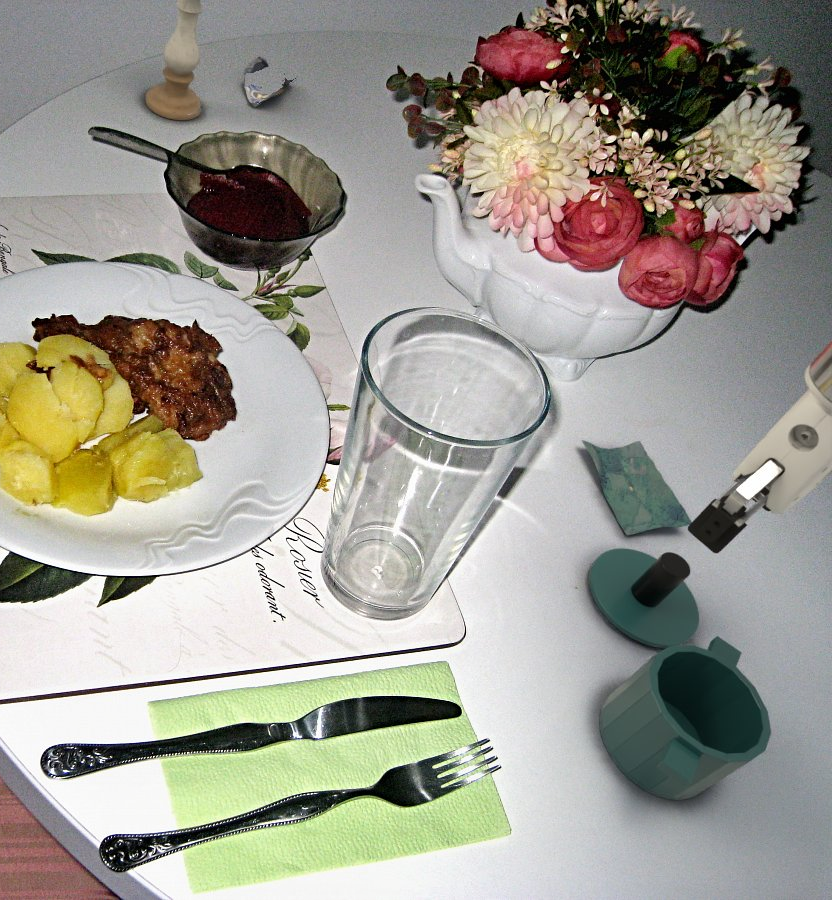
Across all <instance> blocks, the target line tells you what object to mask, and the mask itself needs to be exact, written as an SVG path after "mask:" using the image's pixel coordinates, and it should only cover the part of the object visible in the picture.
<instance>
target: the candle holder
mask: <svg viewBox="0 0 832 900" xmlns="http://www.w3.org/2000/svg"><path fill="white" fill-rule="evenodd" d="M175 6H176V8H177V9H178V16H177V21H176V26H175V29H174V31H173V33H172V35H171V37H169V39H168V41H167V42H166V44H165V46H164V48H163V53H162V54H163V55H162V57H163V61H164V63H165V65H166V66H165V67H164V68H163V70H162V75H163V77H164V80H165V82H159V83H157V84H156V85H155V86H153V87H151V88H150V89H148V90H147V91H146V94H145V104H146V106H147V107H148V109H149V110H150V111H152V113H155V114H156V115H159V116H160V117H163V118H166V119H169V120H175V121H189V120H193V119H195V118H197V117H199V116H200V114H201V113H202V110H203V107H202V108H201V110H200V111H198V112H197V113H194V112H195V111H197V110H198V109H199V108H200V101H199V99H200V97H199V96H198V95H197V94H196V92H195V91H194V90H193V88H190V87H189V86H190V85H191V83H192V82H193V81H194V80H195V74H194V71H195V70H196V68H197V67H198V66H199V64H200V60H201V53H200V47H199V44H198V39H197V25H198V19H199V15H201V14H202V13H203V12H204V8H203V5H202V2H201V0H178V1H177V2H176V4H175ZM197 96H198V97H197ZM191 113H194V114H191ZM188 114H191V115H188Z"/></svg>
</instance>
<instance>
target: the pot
mask: <svg viewBox="0 0 832 900" xmlns="http://www.w3.org/2000/svg"><path fill="white" fill-rule="evenodd" d="M741 655H742V651H740V650H739V649H738V648H736V647H734V645H731V644H730V643H728V642H727V641H725V640H724V639H722V638H721V637H720V636H719V635H717V636H715V637H714V638H712V640H710V642H709V644H708V646H707V649H706V648H703V647H700V646H697V645H694V644H682V645H671V646H669V647H667V648H663V649H662V650H660V651H659V652H657V653H656V654H654V655H653V656H652V657H651V658H650V659H649V660H648V661H646V663H645V664H643V665H642V666H640V668H639V669H637V670H636V671H635V672H634V673H633V674H632V675H631V676H629V677H628V678H627V679H626V680H625V681H624V682H623V683H621V684H620V685H619V686H618V687H617V688H615V689H614V690H613V691H612V692H611V693H610V694H609V696H608V697H607V698H606V700H605V701H604V702H603V704H602V707H601V709H600V714H599V730H600V735H601V739H602V741H603V745H604V747H605V749H606V751H607V753H608V755H609V756H610V758H611V760H612V761H613V762H614V764H615V765H616V767H617V768H618V769H619V770H620V772H622V773H623V774H624V776H626V777H627V778H628V779H629V780H630V781H631V782H632V783H634V785H636V786H637V787H639V788H641V789H642V790H643V791H646V792H648V793H649V794H651V795H653V796H656V797H659V798H663V799H667V800H676V801H677V800H678V801H681V800H687V799H690V798H693V797H696V796H697V795H699V794H700V793H702V792H704V791H705V790H707V789H708V788H710V787H711V786H714V785H715V784H716V783H718V782H720V781H721V780H724V779H725V778H726V777H727V776H729V775H731V774H733V773H734V772H737V770H739V769H741V768H742V767H744V766H746V765H747V764H748V763H750V762H752V761H753V760H754V759H756V758H758V757H759V756H760V755H762V754H763V753H765V752H766V749H767V748H768V744H769V740H770V737H771V736H772V735H771V734H772V728H771V722H770V716H769V711H768V708H767V706H766V705H765V703H764V701H763V699H762V698H761V696H760V693H759V692H758V690H757V688H756V686H755V685H754V684H753V683H752V682H751V681H750V680H749V679H748V678H747V676H746V675H745V674H744V673H743V672H742V671H741V670H740V669H739V668H738V663H739V661H740V658H741Z"/></svg>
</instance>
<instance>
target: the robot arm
mask: <svg viewBox="0 0 832 900" xmlns="http://www.w3.org/2000/svg"><path fill="white" fill-rule="evenodd" d="M804 380H805V381H804V382H805V385H806V386H807V387H808V389H807V390H806V391H805V393H804V394H802V396H800V398H799V399H798V400H797V401H796V402H795V403H794V404H792V406H791V407H790V408H789V409H788V410H787V411H786V412H785V413H784V414H783V415H782V417H781V418H780V419H778V421H777V422H776V423H775V424H774V425H773V426H772V428H770V430H769V431H768V432H767V433H766V434H765V435H764V436H763V437H762V438H761V439H760V440H759V441H758V443H757V444H755V446H754V447H753V449H751V451H750V452H749V453H748V454H747V456H745V458H744V459H743V460H742V461H741V462H740V463H739V465H738V466H737V467H736V468H735V469H734V471H733V472H732V480H733V484H731V485H730V486H729V487H728V488H726V490H725V491H724V492H723V493H721V494H720V495H719V497H717V498H714V499H713V500H711V501H710V502H709V504H708V505H707V506H706V507H705V508H704V509H703V510H702V511H701V512H700V513H699V514H698V515H697V516H696V518H694V519H693V520H692V521H691V522H692V523H691V524H690V525H687V531H688V532H689V534H691V535H692V536H693V537H694V538H695V539H696V540H698V542H700V543H701V544H703V545H704V546H705V547H706V548H707V549H708V550H710V552H712V553H713V554H719V553H720V552H721V551H723V550H724V549H725V548H726V547H727V546H728V545H729V544H730V543H731V542H732V541H733V540H734V539H735V538H736V537H737V536H738V535H739V534H740V533H741V532H742V531H743V530H744V529H746V527H747V526H748V524H747V523H746V522H747V521H749V520H750V519H751V518H752V517H753V516H754V515H755V514H756V513H757V512H759V510H761V509H763V510H765V511H766V512H771V513H772V514H774V515H783V514H784V513H786V512H787V511H788V510H790V509H791V508H793V507H794V506H795V505H796V504H797V503H799V502H800V501H801V500H803V499H804V498H805V497H806V496H808V495H809V494H810V493H811V492H812V491H813V490H815V489H816V488H817V487H818V486H819V485H820V484H821V483H822V482H823V481H824V480H825V479H827V477H828V476H829V475H830V474H831V473H832V340H830V342H829V343H828V344H827V346H825V348H823V350H821V352H819V354H818V355H817V356H816V357H815V359H814V360H813V361H812V362H811V363H810V364H809V365H808V366H807V367H806V369H805V370H804ZM751 501H753V502H755V503H754V504H752V506H750V507H749V508H747V507H746V506H747V504H748V503H749V502H751Z"/></svg>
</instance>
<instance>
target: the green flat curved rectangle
mask: <svg viewBox="0 0 832 900" xmlns="http://www.w3.org/2000/svg"><path fill="white" fill-rule="evenodd" d="M581 442H582V444H583V445H584V448H585V449H586V451H587V452H588V454H589V455H590V457H591V458H592V460H593V463H594V465H595V468H596V471H597V473H598V477H599V481H600V484H601V489H602V493H603V495H604V498H605V499H606V501H607V503H608V504H609V506H610V507H611V509H612V512H613V513H614V516H615V518H616V521H617V522H618V524H619V525H620V527H621V529H622V530H623V531H624V534H625V535H626V536H633V535H635V534H639V533H642V532H647V531H650V530H654V529H659V528H682V527H686V526H687V527H688V526H689V525H690V524H691V523H692V522H693V521H692V520H691V519H690V518H691V517H690V516H689V515H688V513H687V511H686V509H685V508H684V507H683V505H682V503H680V501H679V499H678V498H677V496H676V494H675V493H674V491H673V490H672V488H671V487H670V486H669V485H668V483H667V482H666V481H665V479H664V477H663V475H662V473H661V472H660V470H658V468H657V466H656V464H655V462H654V460H652V458H651V457H650V456H649V455H648V453H647V451H646V449H645V447H644V445H643V444H642V441H640V440H638V441H633V442H631V443H629V444H625V445H622V446H619V447H618V446H617V447H614V448H605V447H600V446H598V445H595V444H593V443H591V442H589V441H587V440H583V439H581Z"/></svg>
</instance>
